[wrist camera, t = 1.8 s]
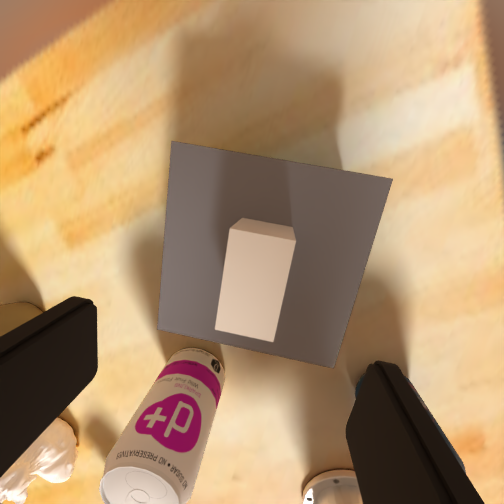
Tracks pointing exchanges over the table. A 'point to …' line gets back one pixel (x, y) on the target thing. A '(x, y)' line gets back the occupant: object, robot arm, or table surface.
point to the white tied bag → (41, 462)
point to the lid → (265, 251)
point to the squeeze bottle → (16, 315)
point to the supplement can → (166, 434)
